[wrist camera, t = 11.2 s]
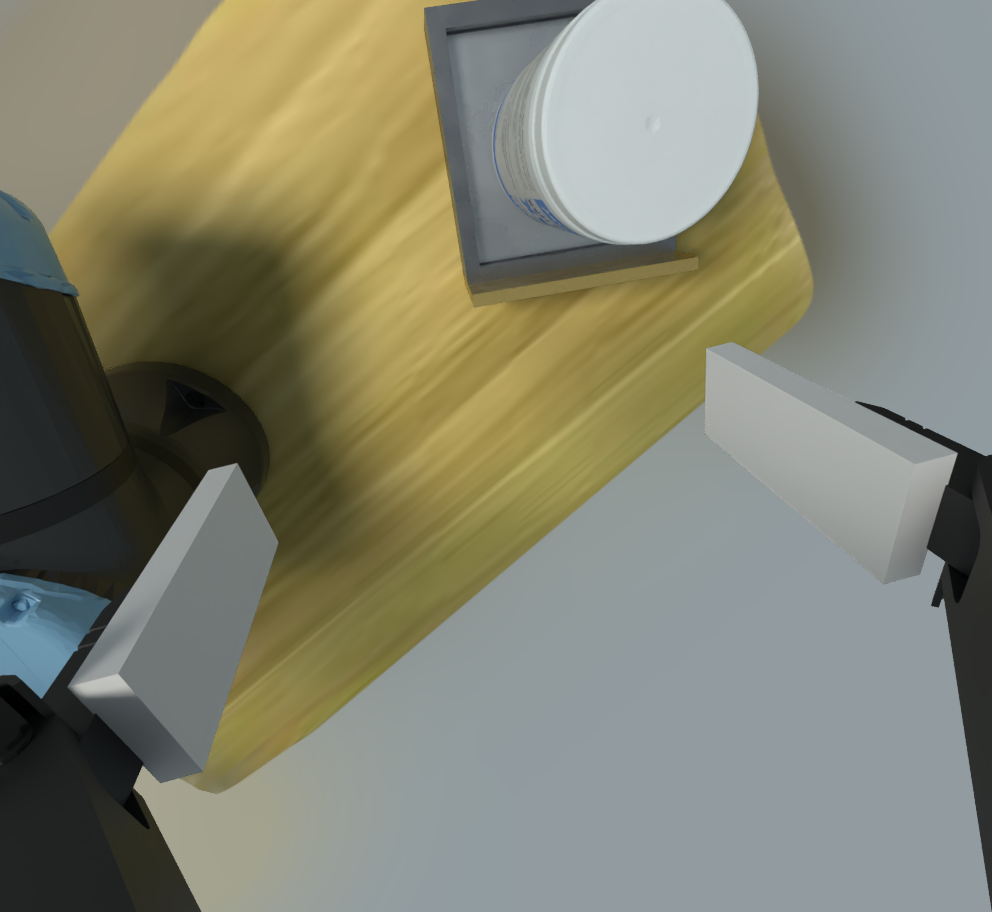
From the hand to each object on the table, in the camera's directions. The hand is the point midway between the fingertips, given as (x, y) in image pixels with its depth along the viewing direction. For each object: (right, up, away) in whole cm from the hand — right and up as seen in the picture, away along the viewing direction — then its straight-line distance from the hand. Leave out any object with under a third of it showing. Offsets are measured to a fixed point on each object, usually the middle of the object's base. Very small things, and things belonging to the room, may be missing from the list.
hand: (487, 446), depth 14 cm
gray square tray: (+4, +22, +22) cm, 31 cm away
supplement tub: (+5, +20, +19) cm, 28 cm away
